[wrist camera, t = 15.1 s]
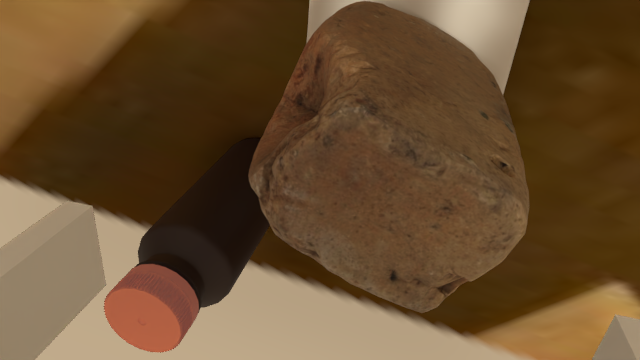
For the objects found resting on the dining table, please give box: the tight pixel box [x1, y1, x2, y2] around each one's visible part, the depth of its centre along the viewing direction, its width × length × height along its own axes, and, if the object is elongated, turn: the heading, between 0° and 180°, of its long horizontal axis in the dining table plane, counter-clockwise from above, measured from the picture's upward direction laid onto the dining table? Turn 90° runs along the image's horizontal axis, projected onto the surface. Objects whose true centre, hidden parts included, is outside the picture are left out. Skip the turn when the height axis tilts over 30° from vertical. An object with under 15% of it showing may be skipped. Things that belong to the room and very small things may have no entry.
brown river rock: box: [248, 1, 529, 313], centre depth 24 cm, size 11×8×20 cm
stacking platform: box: [307, 0, 530, 94], centre depth 34 cm, size 14×14×4 cm
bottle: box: [104, 138, 270, 352], centre depth 35 cm, size 7×7×20 cm
